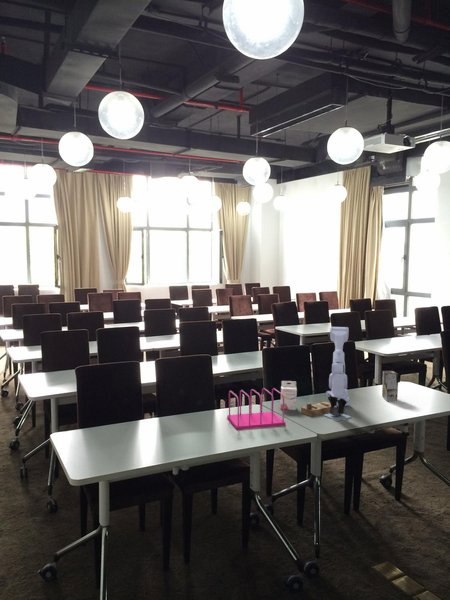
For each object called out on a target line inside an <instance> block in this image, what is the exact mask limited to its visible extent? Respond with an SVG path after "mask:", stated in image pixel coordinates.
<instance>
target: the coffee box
mask: <svg viewBox="0 0 450 600" xmlns="http://www.w3.org/2000/svg"><path fill="white" fill-rule="evenodd" d="M381 388H382V392H381V393H382V395H381V397H383V398H384V400H385V401H386V402H387V401H396V403H397V402H398V395H399V394H398V393H399V392H398V391H399V389H398V388H399V373H398V372H396V371H394V370H382V385H381ZM383 398H382V399H383Z"/></svg>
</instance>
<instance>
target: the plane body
mask: <svg viewBox="0 0 450 600" xmlns="http://www.w3.org/2000/svg"><path fill="white" fill-rule="evenodd" d="M330 407H331V404H330V402H328V401H321V402H317V403H314V404H312V403H311V402H307V403H306V405H305V406H304V405H303V406H301V407H300V413H301V414H304V415H306V416H308V417H315V416H316V417H317V416H321V415H324V414H329V413H330Z"/></svg>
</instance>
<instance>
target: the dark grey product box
mask: <svg viewBox="0 0 450 600" xmlns="http://www.w3.org/2000/svg"><path fill="white" fill-rule="evenodd" d="M345 407H346V406H345ZM345 407H344V410H343V413H339V406H338V405H336V406H333V407H330V412H329V413H330V414H332V415H334V416H339V415H343V414H345Z"/></svg>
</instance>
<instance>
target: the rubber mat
mask: <svg viewBox="0 0 450 600" xmlns="http://www.w3.org/2000/svg"><path fill="white" fill-rule="evenodd" d="M322 416H323V417H325V418H327V419H331V420H332V421H333V420H334V421H336V422H340V421H345V420H348V419H351V418H352V416H350V415H348V414H345V413H344V414H343V415H339V416H334V415H332V414H330V412H329V413H325V414H322Z"/></svg>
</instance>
